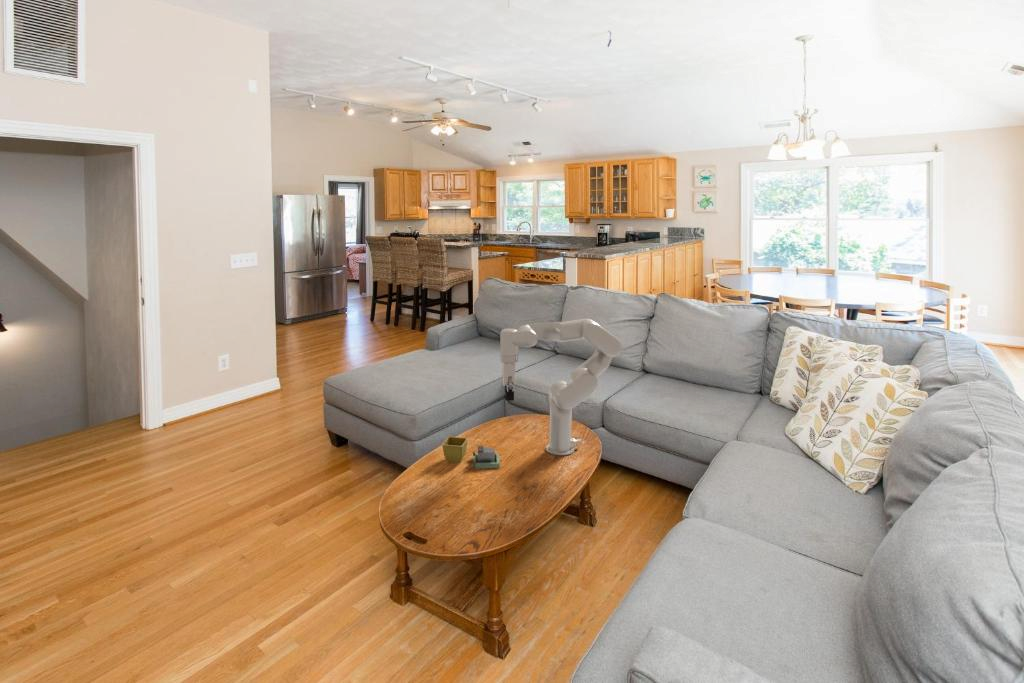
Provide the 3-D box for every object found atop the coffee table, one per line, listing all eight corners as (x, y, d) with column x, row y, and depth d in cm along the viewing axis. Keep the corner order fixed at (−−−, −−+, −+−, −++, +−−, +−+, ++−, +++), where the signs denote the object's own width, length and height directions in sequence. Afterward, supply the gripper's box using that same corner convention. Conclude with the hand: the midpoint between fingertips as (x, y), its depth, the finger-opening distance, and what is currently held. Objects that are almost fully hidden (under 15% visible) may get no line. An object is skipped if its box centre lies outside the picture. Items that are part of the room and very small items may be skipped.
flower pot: (462, 466, 238) (462, 446, 236) (442, 464, 240) (441, 444, 238) (468, 457, 247) (467, 437, 244) (448, 455, 248) (448, 436, 246)
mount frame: (498, 457, 246) (498, 450, 245) (499, 467, 236) (499, 460, 236) (473, 458, 246) (472, 451, 245) (473, 468, 236) (472, 461, 235)
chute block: (494, 460, 244) (494, 445, 242) (494, 465, 239) (494, 450, 237) (477, 460, 243) (477, 446, 242) (478, 466, 238) (477, 450, 237)
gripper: (499, 353, 248) (499, 390, 252) (501, 363, 232) (501, 403, 236) (516, 352, 249) (516, 390, 253) (519, 363, 232) (519, 403, 236)
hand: (509, 396), depth 244 cm, fingers open, 9 cm apart
